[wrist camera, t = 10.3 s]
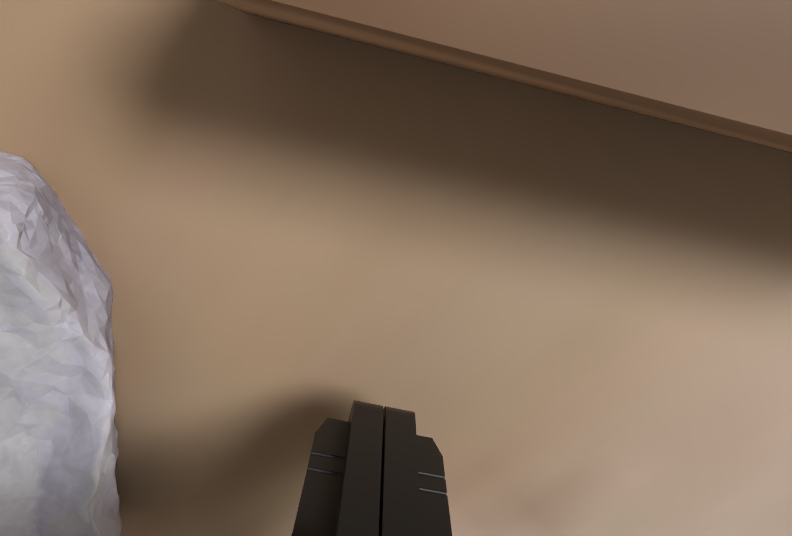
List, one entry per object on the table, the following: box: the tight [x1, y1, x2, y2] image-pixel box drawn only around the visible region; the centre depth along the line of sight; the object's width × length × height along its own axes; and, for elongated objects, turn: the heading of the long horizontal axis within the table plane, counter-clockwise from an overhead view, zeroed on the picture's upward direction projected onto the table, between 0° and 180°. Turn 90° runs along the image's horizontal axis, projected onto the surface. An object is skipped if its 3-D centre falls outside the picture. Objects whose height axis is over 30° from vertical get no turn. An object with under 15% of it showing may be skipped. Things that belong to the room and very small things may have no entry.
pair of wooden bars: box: [218, 0, 792, 152], centre depth 11 cm, size 20×17×4 cm
